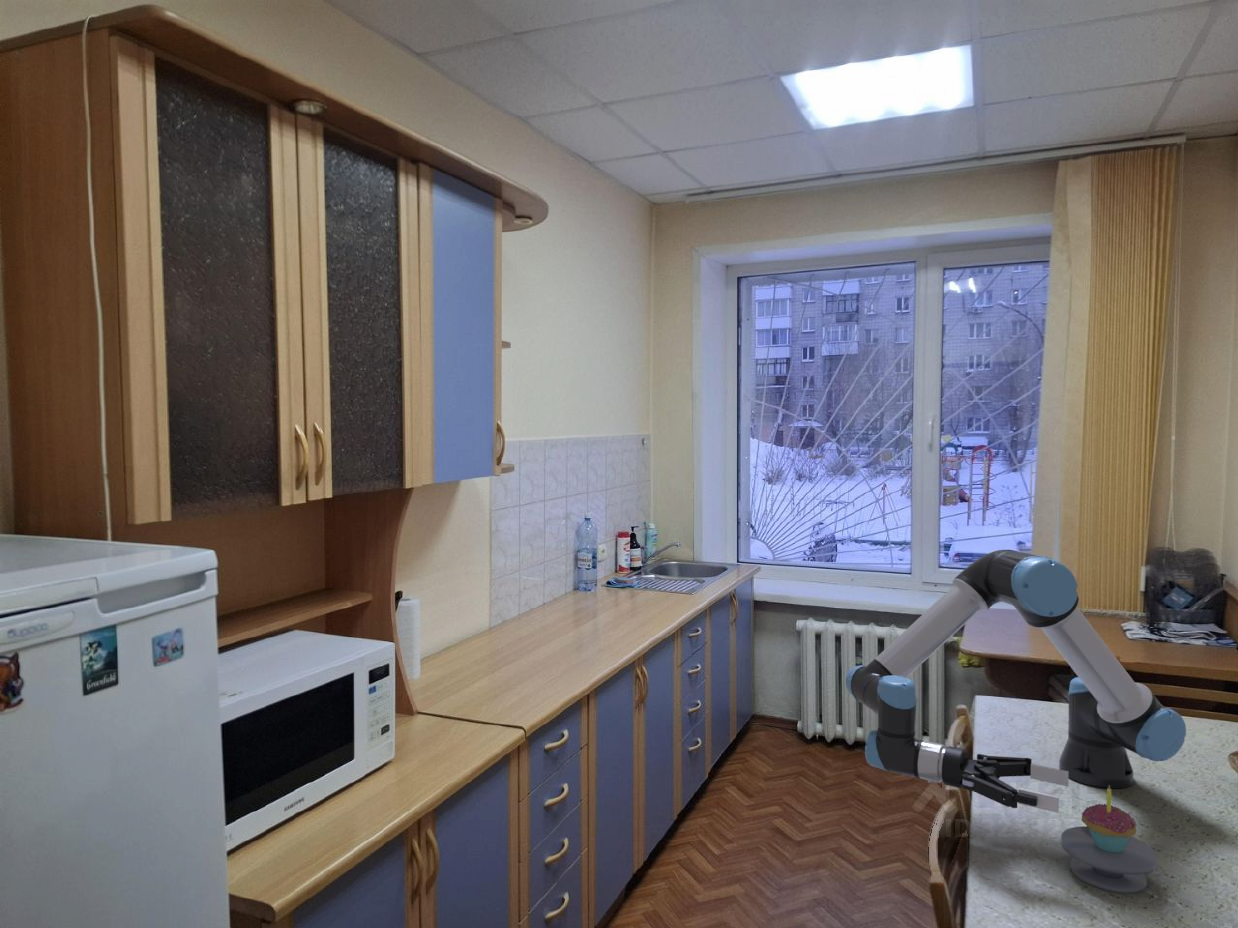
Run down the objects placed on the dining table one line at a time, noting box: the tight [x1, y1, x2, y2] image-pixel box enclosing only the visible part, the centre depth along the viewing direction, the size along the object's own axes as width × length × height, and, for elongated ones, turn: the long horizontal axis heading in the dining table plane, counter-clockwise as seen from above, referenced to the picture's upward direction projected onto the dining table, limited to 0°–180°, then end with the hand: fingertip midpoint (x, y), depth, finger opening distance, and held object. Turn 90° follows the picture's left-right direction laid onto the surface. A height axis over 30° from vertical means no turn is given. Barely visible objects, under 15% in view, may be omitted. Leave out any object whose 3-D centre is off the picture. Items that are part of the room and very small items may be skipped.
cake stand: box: [1061, 825, 1159, 895], centre depth 148 cm, size 15×15×5 cm
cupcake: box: [1081, 785, 1137, 853], centre depth 148 cm, size 9×8×12 cm
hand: (1063, 791), depth 152 cm, fingers open, 13 cm apart
